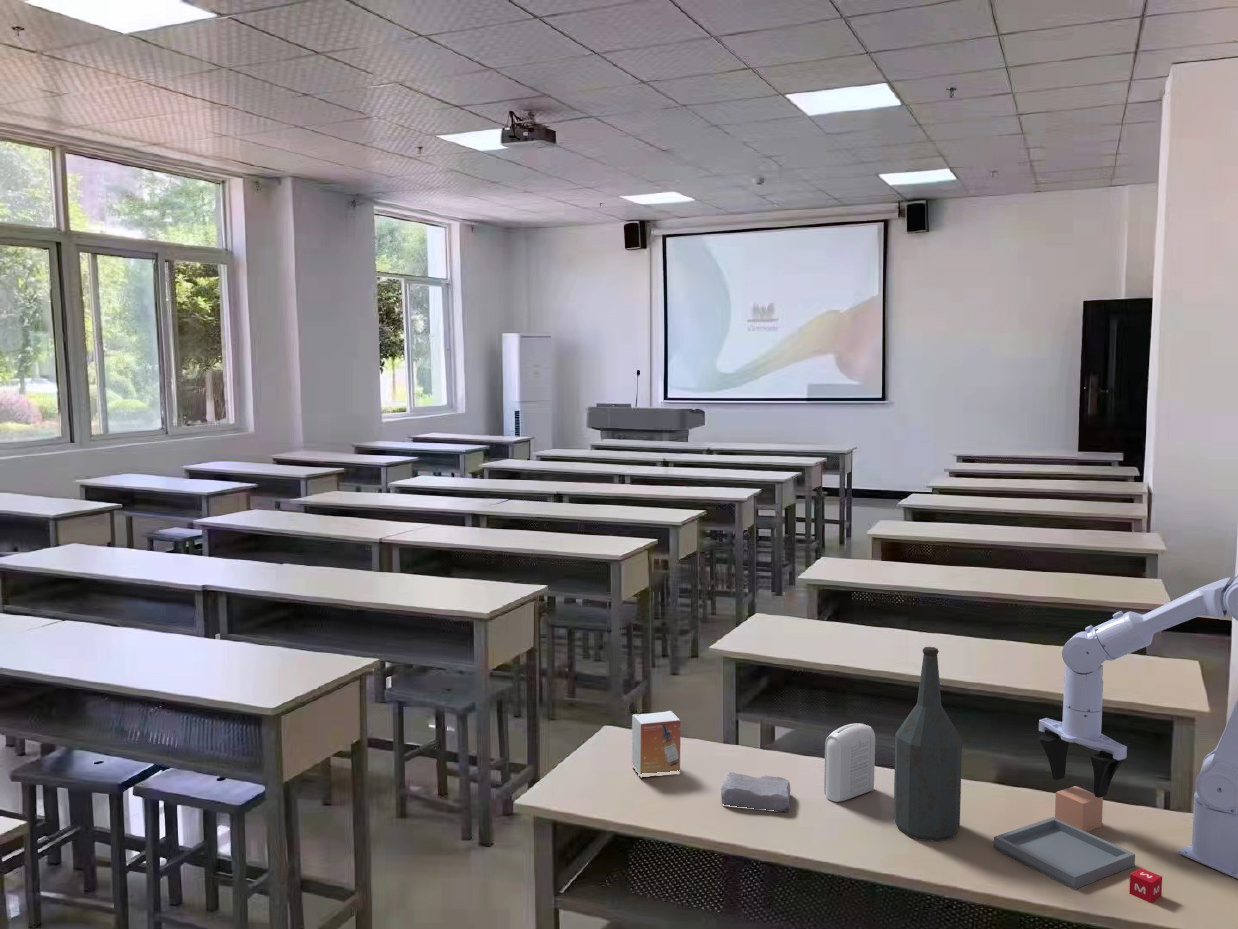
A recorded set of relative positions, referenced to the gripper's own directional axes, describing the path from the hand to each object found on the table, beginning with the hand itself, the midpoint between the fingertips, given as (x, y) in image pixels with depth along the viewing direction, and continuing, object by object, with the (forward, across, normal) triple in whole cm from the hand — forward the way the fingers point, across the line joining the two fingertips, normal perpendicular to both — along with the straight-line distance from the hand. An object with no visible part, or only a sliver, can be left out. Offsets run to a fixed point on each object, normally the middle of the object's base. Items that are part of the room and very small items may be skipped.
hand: (1079, 787), depth 155 cm
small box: (+7, -52, -50) cm, 72 cm away
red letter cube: (+6, +19, -11) cm, 23 cm away
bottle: (+6, -11, -23) cm, 26 cm away
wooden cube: (+6, 0, 0) cm, 6 cm away
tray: (+6, +6, -12) cm, 15 cm away
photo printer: (+7, -27, -25) cm, 37 cm away
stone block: (+7, -33, -40) cm, 53 cm away
